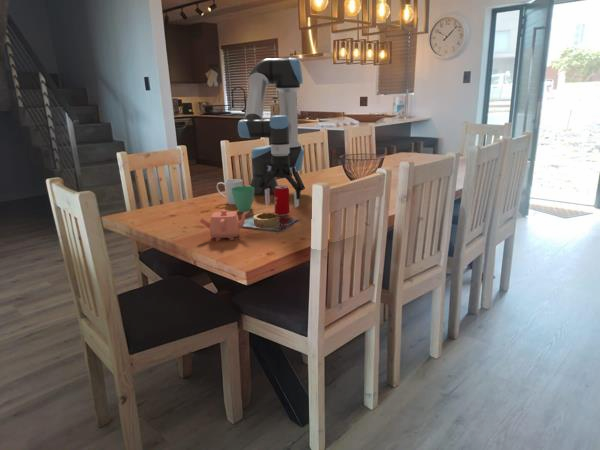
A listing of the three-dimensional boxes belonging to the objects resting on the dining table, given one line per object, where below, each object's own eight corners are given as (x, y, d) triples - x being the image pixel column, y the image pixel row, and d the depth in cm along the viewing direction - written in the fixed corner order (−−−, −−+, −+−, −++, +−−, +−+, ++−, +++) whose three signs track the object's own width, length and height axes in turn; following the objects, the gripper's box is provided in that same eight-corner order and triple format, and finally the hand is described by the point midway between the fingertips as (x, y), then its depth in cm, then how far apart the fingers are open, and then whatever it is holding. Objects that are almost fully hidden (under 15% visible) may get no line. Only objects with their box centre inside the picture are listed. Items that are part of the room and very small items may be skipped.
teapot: (217, 246, 150) (215, 217, 147) (199, 238, 158) (197, 210, 155) (251, 236, 159) (249, 209, 156) (232, 229, 167) (231, 203, 164)
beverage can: (282, 211, 190) (281, 184, 186) (292, 214, 186) (292, 186, 182) (271, 214, 186) (270, 186, 182) (281, 217, 182) (280, 189, 178)
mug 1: (244, 200, 211) (243, 178, 208) (242, 204, 203) (241, 182, 200) (219, 200, 211) (217, 179, 208) (216, 205, 203) (214, 182, 200)
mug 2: (252, 214, 187) (250, 191, 184) (230, 213, 189) (228, 190, 186) (260, 205, 201) (259, 184, 198) (240, 204, 203) (238, 183, 200)
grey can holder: (254, 215, 184) (254, 209, 184) (298, 220, 177) (297, 213, 176) (234, 226, 171) (233, 219, 170) (280, 232, 163) (280, 224, 162)
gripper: (249, 154, 180) (251, 204, 186) (304, 157, 170) (305, 209, 176) (258, 152, 186) (260, 200, 193) (312, 154, 177) (312, 205, 183)
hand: (282, 205), depth 184 cm, fingers open, 13 cm apart
